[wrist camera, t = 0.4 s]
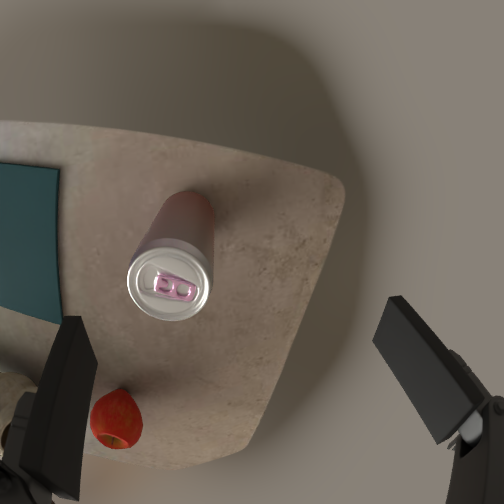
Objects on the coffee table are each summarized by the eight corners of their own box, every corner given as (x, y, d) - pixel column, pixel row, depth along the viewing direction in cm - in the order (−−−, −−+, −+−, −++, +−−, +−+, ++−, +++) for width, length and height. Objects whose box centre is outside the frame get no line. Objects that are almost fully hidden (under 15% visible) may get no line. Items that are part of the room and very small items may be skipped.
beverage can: (204, 248, 35) (198, 332, 21) (154, 232, 33) (118, 309, 20) (222, 199, 33) (225, 262, 19) (169, 182, 31) (134, 233, 18)
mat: (-43, 158, 25) (-46, 159, 25) (60, 168, 29) (57, 169, 28) (-30, 292, 33) (-31, 294, 33) (64, 323, 37) (62, 325, 37)
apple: (140, 413, 46) (132, 463, 37) (96, 396, 44) (82, 445, 34) (153, 388, 44) (145, 443, 34) (103, 369, 41) (86, 423, 32)
